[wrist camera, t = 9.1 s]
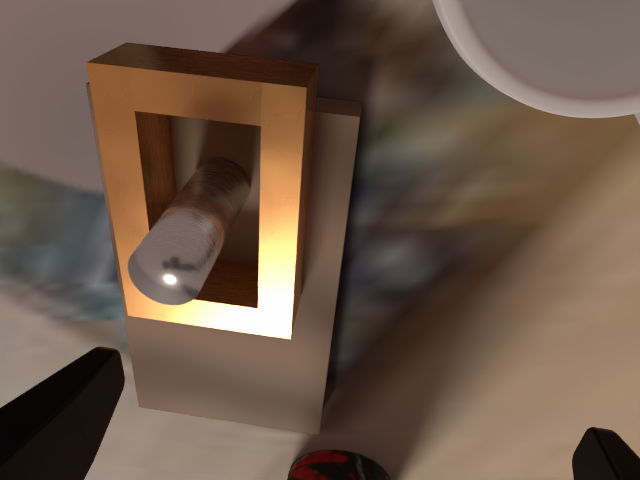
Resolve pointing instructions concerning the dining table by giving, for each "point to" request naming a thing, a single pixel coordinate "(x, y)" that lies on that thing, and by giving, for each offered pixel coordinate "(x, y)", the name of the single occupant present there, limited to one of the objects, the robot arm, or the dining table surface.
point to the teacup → (552, 51)
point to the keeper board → (243, 246)
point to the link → (159, 175)
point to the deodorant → (336, 467)
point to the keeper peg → (190, 233)
